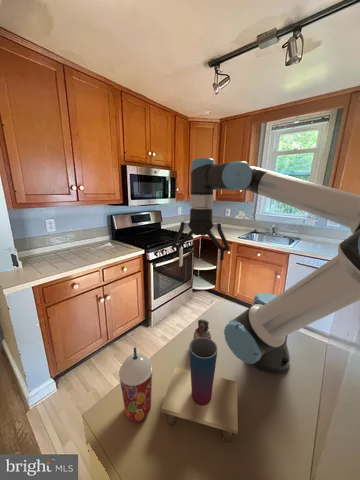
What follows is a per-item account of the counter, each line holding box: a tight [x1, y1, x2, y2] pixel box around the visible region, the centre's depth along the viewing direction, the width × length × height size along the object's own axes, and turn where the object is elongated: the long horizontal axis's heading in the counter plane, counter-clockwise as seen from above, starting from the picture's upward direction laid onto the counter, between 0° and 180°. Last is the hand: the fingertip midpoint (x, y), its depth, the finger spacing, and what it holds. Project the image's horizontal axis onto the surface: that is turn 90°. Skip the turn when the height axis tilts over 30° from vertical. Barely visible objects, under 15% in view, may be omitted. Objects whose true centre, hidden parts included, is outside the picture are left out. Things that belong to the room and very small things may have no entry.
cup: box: [188, 337, 218, 406], centre depth 50 cm, size 7×7×15 cm
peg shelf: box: [160, 367, 239, 443], centre depth 52 cm, size 18×12×6 cm, turn 76°
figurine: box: [192, 318, 212, 340], centre depth 74 cm, size 7×7×12 cm
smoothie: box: [118, 347, 153, 423], centre depth 51 cm, size 8×8×20 cm
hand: (199, 267), depth 72 cm, fingers open, 13 cm apart
